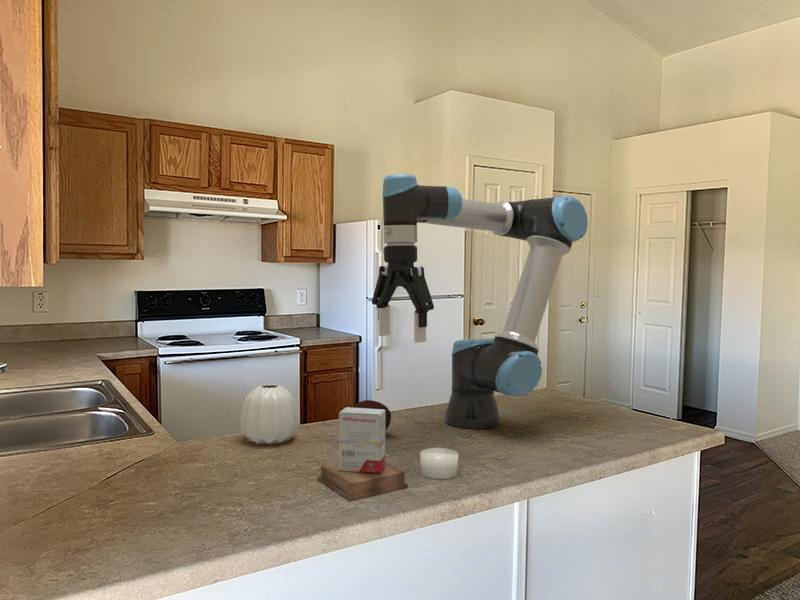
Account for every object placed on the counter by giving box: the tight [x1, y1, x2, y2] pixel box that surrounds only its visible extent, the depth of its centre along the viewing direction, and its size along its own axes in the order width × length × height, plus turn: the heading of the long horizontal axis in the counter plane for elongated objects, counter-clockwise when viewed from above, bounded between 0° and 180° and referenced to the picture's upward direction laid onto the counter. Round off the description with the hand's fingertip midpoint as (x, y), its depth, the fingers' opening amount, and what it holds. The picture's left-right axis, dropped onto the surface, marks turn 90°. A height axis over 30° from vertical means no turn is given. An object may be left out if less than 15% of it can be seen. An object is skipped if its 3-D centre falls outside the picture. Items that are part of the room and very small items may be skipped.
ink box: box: [338, 406, 386, 474], centre depth 121 cm, size 9×5×12 cm, turn 79°
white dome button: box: [419, 447, 459, 480], centre depth 129 cm, size 8×8×4 cm
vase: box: [239, 383, 300, 445], centre depth 150 cm, size 14×14×13 cm
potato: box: [351, 399, 392, 432], centre depth 154 cm, size 9×12×9 cm
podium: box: [317, 461, 409, 502], centre depth 122 cm, size 13×13×3 cm
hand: (401, 338), depth 140 cm, fingers open, 13 cm apart
